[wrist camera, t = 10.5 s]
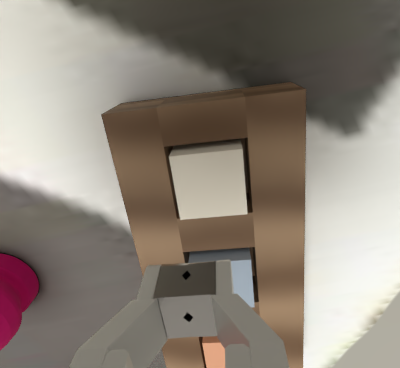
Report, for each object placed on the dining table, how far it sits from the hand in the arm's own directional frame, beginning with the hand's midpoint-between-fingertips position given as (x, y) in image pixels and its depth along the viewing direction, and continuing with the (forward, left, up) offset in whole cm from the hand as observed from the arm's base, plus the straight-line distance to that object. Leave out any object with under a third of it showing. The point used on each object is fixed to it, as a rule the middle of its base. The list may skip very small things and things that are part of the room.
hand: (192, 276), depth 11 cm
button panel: (+8, 0, -13) cm, 16 cm away
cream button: (0, 0, -12) cm, 12 cm away
